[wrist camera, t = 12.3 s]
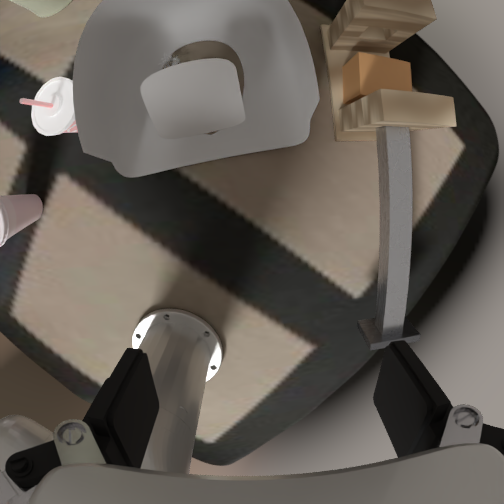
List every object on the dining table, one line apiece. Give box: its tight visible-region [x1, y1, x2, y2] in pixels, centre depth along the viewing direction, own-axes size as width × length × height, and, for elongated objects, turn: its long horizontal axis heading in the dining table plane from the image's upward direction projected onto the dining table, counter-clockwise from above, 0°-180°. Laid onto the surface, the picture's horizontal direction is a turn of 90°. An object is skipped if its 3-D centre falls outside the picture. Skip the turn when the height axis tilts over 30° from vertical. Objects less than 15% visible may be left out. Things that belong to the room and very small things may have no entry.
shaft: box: [357, 126, 420, 350], centre depth 28 cm, size 22×6×5 cm, turn 6°
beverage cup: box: [20, 77, 78, 136], centre depth 25 cm, size 6×6×14 cm
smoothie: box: [0, 194, 43, 247], centre depth 28 cm, size 6×6×14 cm
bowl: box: [73, 0, 320, 177], centre depth 25 cm, size 20×19×12 cm
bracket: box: [320, 0, 456, 141], centre depth 24 cm, size 14×8×13 cm, turn 5°
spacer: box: [342, 52, 412, 104], centre depth 27 cm, size 4×6×6 cm
